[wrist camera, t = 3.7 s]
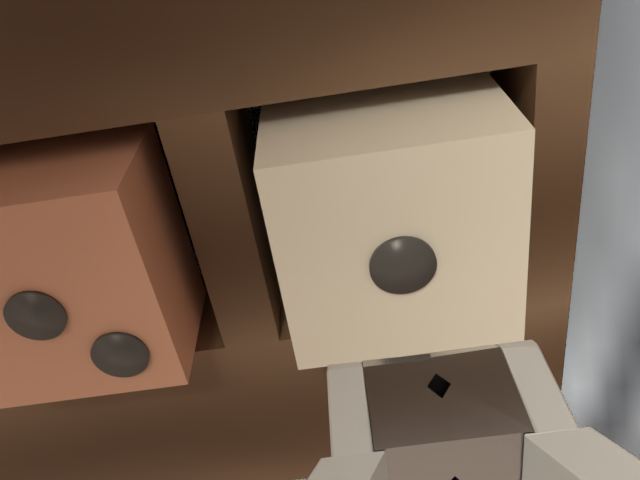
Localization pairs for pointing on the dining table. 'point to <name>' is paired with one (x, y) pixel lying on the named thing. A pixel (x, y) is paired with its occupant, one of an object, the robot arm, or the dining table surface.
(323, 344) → the key one
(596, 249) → the dining table surface
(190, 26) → the key panel
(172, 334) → the key three
